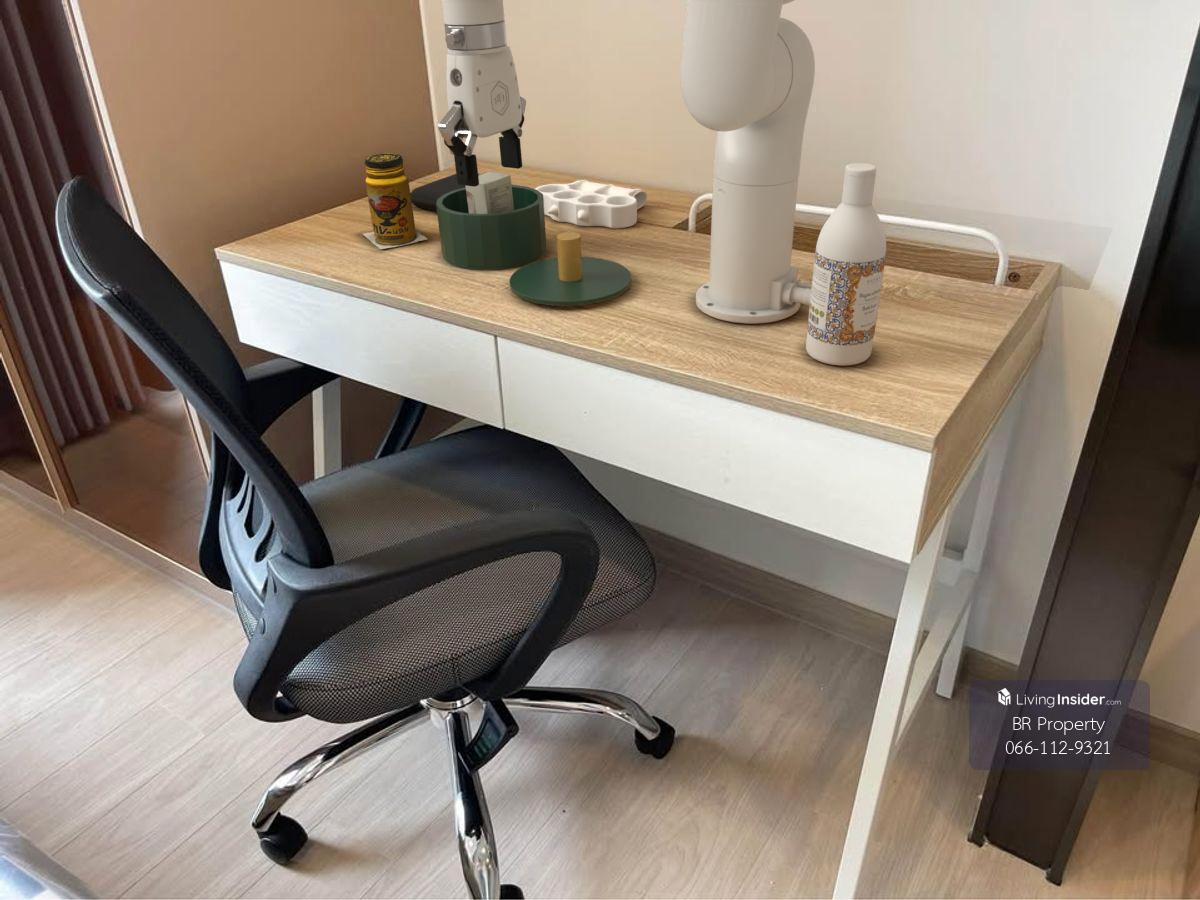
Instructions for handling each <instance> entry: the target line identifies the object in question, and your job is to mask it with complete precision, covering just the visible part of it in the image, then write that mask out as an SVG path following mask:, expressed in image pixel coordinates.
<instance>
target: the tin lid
mask: <svg viewBox="0 0 1200 900" xmlns="http://www.w3.org/2000/svg"><path fill="white" fill-rule="evenodd" d="M556 248H557V250H556V251H557V257H553V258H552V257H551V258H546V259H541V260H536V261H534V262H531V263H529V264H525V265H523V266H521V267H520V268H518V269H517V270H515V271H514V272H513V273H512V274H511V275H510V278H509V288H510V290H511V292H512V293H513V294H514V295H515V296H517V297H518V298H521V299H522V300H525V301H527V302H530V303H535V304H539V305H540V304H541V305H546V306H554V307H555V306H557V307H558V306H559V307H573V306H575V307H577V306H587V305H592V304H597V303H602V302H605V301H609V300H611V299H614V298H617V297H619V296H620V295H622V294H624V293H625V292H627V291H628V289H629V288H630V287H631V285H632V281H633V280H632V272H631V271H630V270H629V269H628V268H627V267H625V266H624V265H622V264H620V263H618V262H615V261H613V260H609V259H604V258H600V257H593V256H592V257H591V256H582V235H581V234H580V233H578V232H575V231H565V232H561V233H559V234H557V235H556Z"/></svg>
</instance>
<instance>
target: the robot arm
mask: <svg viewBox="0 0 1200 900" xmlns="http://www.w3.org/2000/svg"><path fill="white" fill-rule="evenodd" d="M794 1H795V0H687V2H686V11H685V19H684V28H683V36H682V45H681V55H680V68H679V82H680V84H679V85H680V91H681V96H682V99H683V103H684V104H685V107H686V108H687V110H688V112H689V114H690V115H691V117H692V118H693V119H694V120H695V121H696V123H698V124H700V125H701V126H703V127H704V128H706V129H708V130H710V131H715V132H717V134H716V139H715V147H714V158H713V174H712V197H711V221H710V222H711V223H710V246H709V247H710V248H709V249H710V250H709V271H708V272H709V273H708V274H709V275H708V281H707V282H706V283H704V284H702V285H701V286H699V288H698V289H697V290H696V292H695V305H696V307H697V308H698V309H699V310H700V311H701V312H702V313H704V314H705V315H707V316H709V317H711V318H713V319H717V320H720V321H724V322H731V323H735V324H747V325H749V324H751V325H752V324H754V325H755V324H767V323H773V322H778V321H782V320H785V319H787V318H789V317H792V316H793V315H794V314H796V313H797V312H798V311H799V310H800V308H801V305H804V306H809V307H810V299H811V289H812V282H809V281H808V282H806V281H801V279H800V278H798V277H799V276H798V275H799V267H797V266H792V255H793V244H794V243H793V242H794V231H795V221H796V208H797V197H798V187H799V177H800V170H801V160H802V158H801V157H802V151H803V150H802V149H803V140H804V135H805V127H806V121H807V118H808V112H809V107H810V103H811V100H812V99H811V98H812V94H813V89H814V83H815V76H816V75H815V74H816V62H815V61H816V59H815V52H814V49H813V46H812V43H811V41H810V39H809V38H808V37H809V36H808V35H807V34H806V33H805V32H804V30H803V29H802V28H801V27H800V26H798V24H796V23H795V22H793V21H792V20H790V19H787V18H784V17H781V15H782V8H783V5H787V4H790V3H793V2H794ZM441 9H442V15H443V25H444V33H445V34H444V35H445V37H444V39H445V43H446V50H447V54H446V64H445V65H446V71H445V73H446V74H445V75H446V76H445V77H446V96H447V99H446V100H447V109H448V111H447V112H446V114H445V115H444V116H443V118H442V119H441V120H440V122H439V123H438V126H437V128H438V131H439V133H440V135H441V137H442V139H443V142H444V143H443V144H444V145H445V146H446V147H447V148H448V149H449V153H450V155H453V158H454V167H455V174H456V175H457V182H458V184H459V185H465V186H473V187H476V186H478V185H479V177H478V174H479V170H478V162H477V155H476V154H474V153H473V151H474V149H475V145H476V143H477V139H478V138H480V139H481V138H483V139H484V138H488V137H491V136H495V135H497V134H501V135H502V136H499V137H498V144H499V155H500V163H501V166H502V168H508V169H517V170H518V169H521V168H523V158H522V146H521V138H522V136H523V130H522V127H523V126H524V122H525V111H526V106H527V100H526V99H525V98H524V97H522V96H520V95H521V94H520V88H519V81H518V75H517V70H516V69H517V68H516V65H515V62H514V61H515V60H514V57H513V54H512V50H511V47H510V46H509V45H508V42H507V40H508V39H507V29H506V21H505V10H504V9H505V8H504V0H441ZM463 139H466V140H465V142H464V141H463Z"/></svg>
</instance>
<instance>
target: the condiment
mask: <svg viewBox="0 0 1200 900" xmlns="http://www.w3.org/2000/svg"><path fill="white" fill-rule="evenodd" d="M364 165H365V173H366V174H367V176H366V178H365V188H366V195H367V199H368V200H367V202H368V207H369V213H370V220H371V225H372V231H371V232H363V233H361V235H363V236H364V237H365V238H366V239H367V240H369V241H370V243H371V244H373V245H374V246H375V247H376V248H378V249H379V250H384V249H391V248H396V247H402V246H406V245H410V244H415V243H418V242H423V241H426V240H428V238H427V237H426V236H424V235H423V234H422V233H420V232H419V231H418V230H417V229H416V224H415V216H414V210H413V203H412V202H411V195H410V193H411V189H410V182H409V181H410V180H409V176H408V174H407V173H406V172H405V166H404V159H403V156H402V155H401V154H399V153H393V152H389V153H388V152H384V153H383V152H382V153H376V154H372V155H370V156H367V157H366V158H365V160H364Z"/></svg>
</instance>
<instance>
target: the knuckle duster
mask: <svg viewBox="0 0 1200 900" xmlns="http://www.w3.org/2000/svg"><path fill="white" fill-rule="evenodd" d="M534 189H536V190H538V191H539V192H541V193H542V194H543V199H544V216H548V217H550V218H551V220H553V221H555V222H559V223H569V224H573V225H576V226H580V227H603V228H604V227H605V228H609V229H614V230H615V229H625V228H630V227H632V226H634V225H636V224H637V222H638V210H639V209H640V208H642V207H643V206H644V205H645V204H646V202H647V200H648V194H647V192H646V191H644V190H643V189H641V188H628V187H622V186H619V185H615V184H613V183H609V184H606V183H600V182H593V181H589V180H587V179H579V180H575V181H573V182H569V183H549V184H548V183H547V184H544V185H543V184H542V185H539V186H537V187H535V188H534Z"/></svg>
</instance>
